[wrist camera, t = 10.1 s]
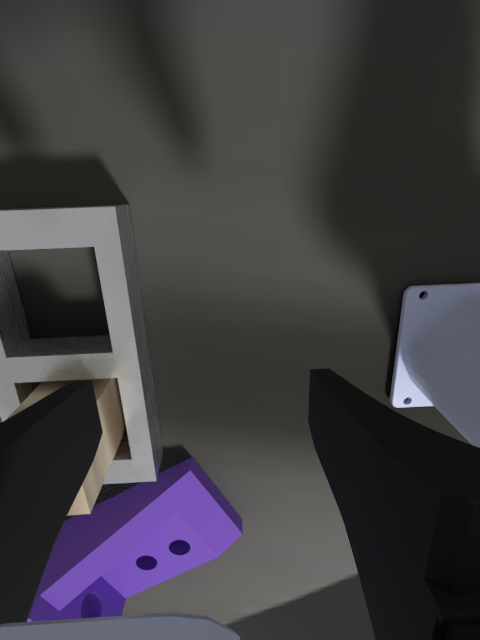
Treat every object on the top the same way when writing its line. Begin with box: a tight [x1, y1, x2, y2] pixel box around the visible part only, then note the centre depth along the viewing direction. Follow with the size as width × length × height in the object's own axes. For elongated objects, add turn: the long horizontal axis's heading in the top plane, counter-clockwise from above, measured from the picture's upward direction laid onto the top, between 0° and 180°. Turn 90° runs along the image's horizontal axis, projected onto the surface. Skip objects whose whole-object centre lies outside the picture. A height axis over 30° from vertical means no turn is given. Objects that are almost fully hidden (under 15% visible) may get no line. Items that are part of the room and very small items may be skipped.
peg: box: [6, 378, 126, 516], centre depth 19 cm, size 4×4×7 cm
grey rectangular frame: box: [0, 204, 163, 484], centre depth 20 cm, size 8×16×2 cm, turn 2°
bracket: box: [27, 457, 243, 622], centre depth 23 cm, size 12×7×7 cm, turn 120°
